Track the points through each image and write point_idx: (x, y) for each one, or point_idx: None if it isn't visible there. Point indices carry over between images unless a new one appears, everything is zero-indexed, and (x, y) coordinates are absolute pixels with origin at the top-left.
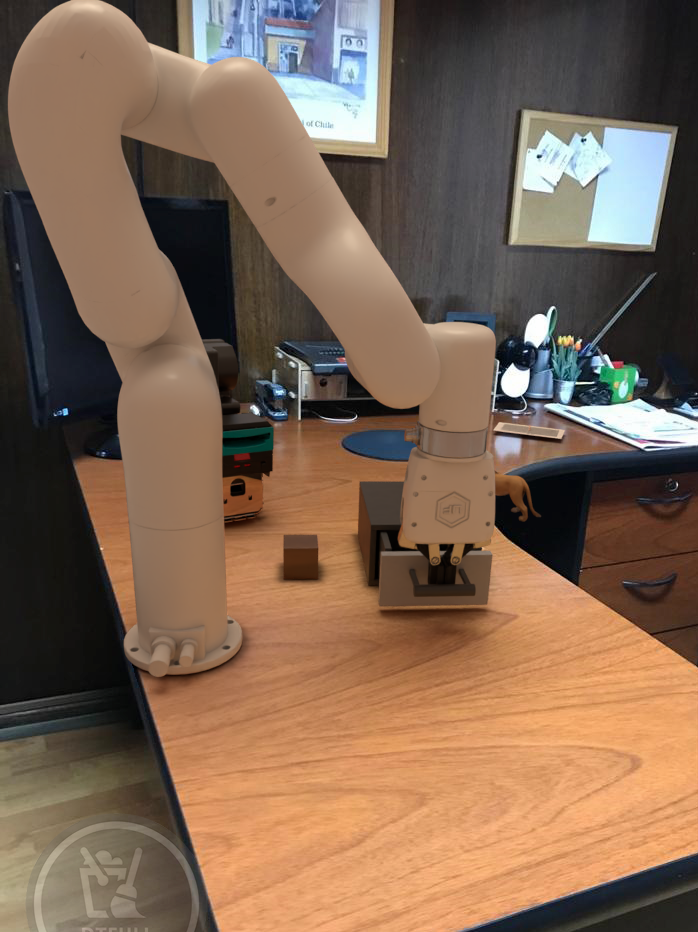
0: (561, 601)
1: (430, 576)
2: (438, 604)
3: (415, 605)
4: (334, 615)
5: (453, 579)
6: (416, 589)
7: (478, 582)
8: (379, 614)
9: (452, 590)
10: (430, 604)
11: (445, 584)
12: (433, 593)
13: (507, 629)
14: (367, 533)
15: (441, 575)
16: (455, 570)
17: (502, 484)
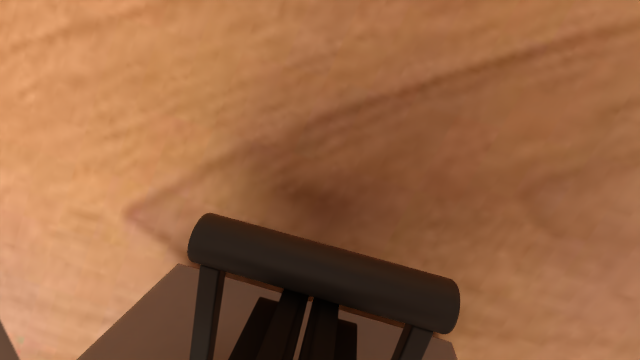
0: (12, 238)
1: (356, 358)
2: None
3: (357, 316)
4: (562, 354)
5: (259, 316)
6: (454, 299)
7: (165, 316)
8: None
9: (295, 248)
10: None
11: (313, 288)
12: (377, 263)
13: (168, 166)
14: None
15: (318, 337)
16: (237, 349)
17: None
